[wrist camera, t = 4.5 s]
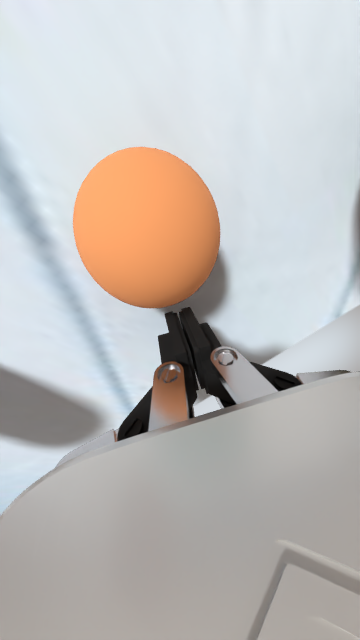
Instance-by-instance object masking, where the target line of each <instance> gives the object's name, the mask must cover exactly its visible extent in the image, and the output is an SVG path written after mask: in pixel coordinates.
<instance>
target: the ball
mask: <svg viewBox="0 0 360 640" xmlns="http://www.w3.org/2000/svg"><path fill="white" fill-rule="evenodd" d="M73 230H74V237H75V241H76V246H77V249H78V252H79V254H80V257H81V259H82V262H83V263H84V265H85V267H86V269H87V270H88V272H89V273H90V275H91V276H92V277H93V279H94V280H95V281H96V282H97V283H98V284H99V285H100V286H101V287H102V288H103V289H104V290H105V291H106V292H108V293H109V294H110V295H112V296H114V297H115V298H117V299H119V300H120V301H122V302H125V303H127V304H130V305H133V306H137V307H142V308H162V307H167V306H171V305H174V304H177V303H179V302H181V301H183V300H185V299H187V298H188V297H190V296H191V295H192V294H194V293H195V292H196V291H197V290H198V289H199V288H200V287H201V286H202V285H203V283H204V282H205V281H206V279H207V278H208V276H209V275H210V273H211V271H212V269H213V267H214V264H215V262H216V259H217V255H218V250H219V245H220V223H219V217H218V212H217V208H216V205H215V202H214V200H213V197H212V195H211V193H210V191H209V189H208V187H207V186H206V184H205V183H204V182H203V180H202V179H201V178H200V176H199V175H198V174H197V173H196V172H195V171H194V170H193V169H192V168H191V167H190V166H189V165H188V164H186V163H185V162H184V161H182V160H181V159H179V158H178V157H176V156H174V155H172V154H170V153H168V152H166V151H163V150H159V149H156V148H147V147H133V148H127V149H123V150H119V151H117V152H115V153H113V154H111V155H108V156H107V157H106V158H104V159H103V160H101V161H100V162H99V163H98V164H97V165H96V166H95V167H94V168H93V169H92V170H91V171H90V172H89V174H88V175H87V177H86V178H85V180H84V181H83V183H82V185H81V187H80V189H79V192H78V194H77V198H76V202H75V206H74V215H73Z"/></svg>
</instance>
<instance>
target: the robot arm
mask: <svg viewBox="0 0 360 640" xmlns="http://www.w3.org/2000/svg"><path fill="white" fill-rule="evenodd" d="M181 310H182V311H181V312H179V315H180V320H181V324H182V327H181V324H180V321H179V318H178V316H177V313H173V311H172V312H168V313H165V318H166V322H167V326H168V330H169V333H166V334H163V335H159V336H158V341H159V348H160V355H161V362H162V365H160V366H159V367H158V368H157V369H156V371H155V373H154V380H153V386H152V388H151V389H150V390H149V391H148V392H147V394H146V395H145V396H144V397H143V398H142V400H141V401H140V402H139V403H138V405H137V406H136V407H135V408H134V409H133V411H132V412H131V413H130V414H129V415H128V417H127V418H126V419H125V420H124V421H123V423H122V424H121V426H120V428H119V429H117V430H115V431H114V429H112V430H110V431H108V432H106V433H105V434H103V435H101V436H99V437H97V438H95V439H93V440H92V441H90V442H88V443H86V444H84V445H82V446H81V447H79V448H77V449H75V450H73V451H71V452H70V453H68V454H67V455H66V456H64V457H63V458H62V459H61V460H60V462H59V463H58V464H57V466H56V468H54V469H53V470H51V471H50V472H48V473H47V474H45V475H44V476H43V477H41V478H40V479H38V480H37V481H36V482H34V483H33V484H32V485H30V486H29V487H28V488H27V489H25V490H24V491H23V492H22V493H21V494H20V495H19V496H18V497H17V498H16V499H15V500H14V501H13V502H12V503H11V504H10V505H9V506H8V507H7V508H6V509H5V511H4V512H3V513H2V515H1V516H0V640H360V371H358V372H349V371H346V370H335V371H323V372H310V373H298V374H297V375H296V376H293V375H291V374H288V373H286V372H283V371H279V370H275V369H272V368H269V367H266V366H262V365H259V364H255V363H252V362H249V361H248V360H247V359H246V358H245V357H244V356H243V355H242V354H241V353H240V352H239V351H237V350H236V349H234V348H232V347H227V346H225V347H222V346H221V344H220V343H219V341H218V339H217V338H216V336H215V335H214V333H213V331H212V330H211V328H210V327H209V325H208V323H203V324H199V323H198V321H197V319H196V318H195V316H194V314H193V312H192V310H191V308H190V307H187V308H183V309H181ZM194 369H195V370H194ZM195 372H196V375H197V378H198V381H199V384H200V386H201V389H204V388H205V390H206V393H207V394H208V393H209V394H211V395H213V396H215V397H216V400H217V402H218V404H219V405H220V407H221V409H220V410H217V411H213V412H210V413H207V414H204V415H200V416H198V417H194V408H193V404H194V402H195V400H196V399H197V393H196V391H197V390H199V389H198V384H197V379H196V375H195Z"/></svg>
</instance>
